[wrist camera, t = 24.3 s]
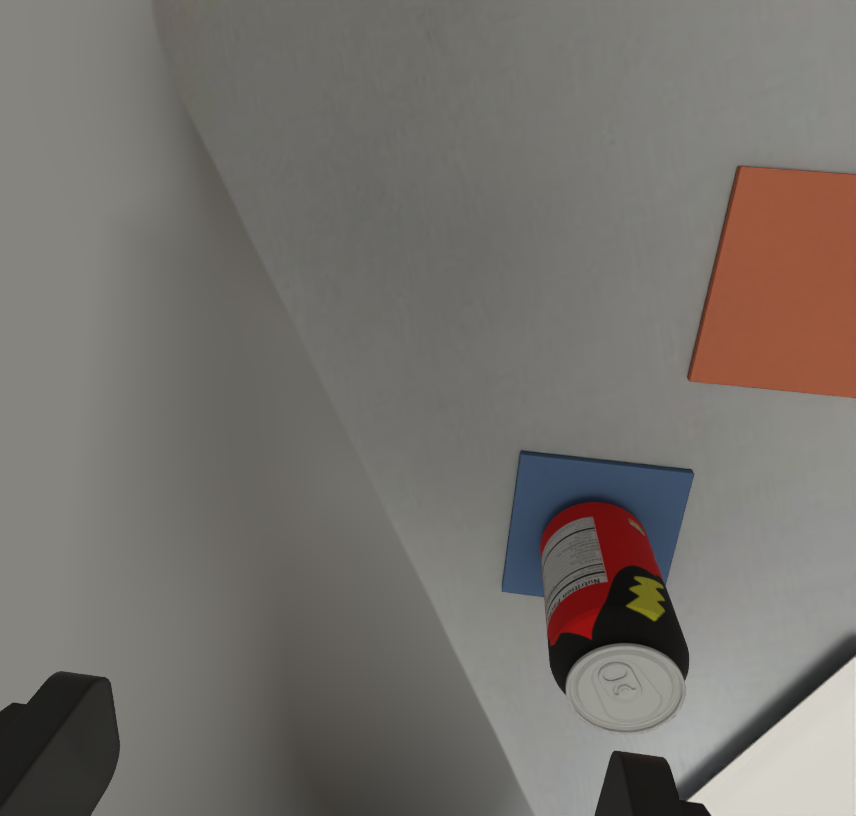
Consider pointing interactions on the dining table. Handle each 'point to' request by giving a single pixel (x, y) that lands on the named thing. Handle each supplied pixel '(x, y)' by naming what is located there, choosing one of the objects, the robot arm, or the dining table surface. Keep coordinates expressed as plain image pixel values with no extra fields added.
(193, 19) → the dining table surface
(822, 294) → the terracotta pad
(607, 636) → the beverage can
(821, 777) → the plate
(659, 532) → the blue pad
